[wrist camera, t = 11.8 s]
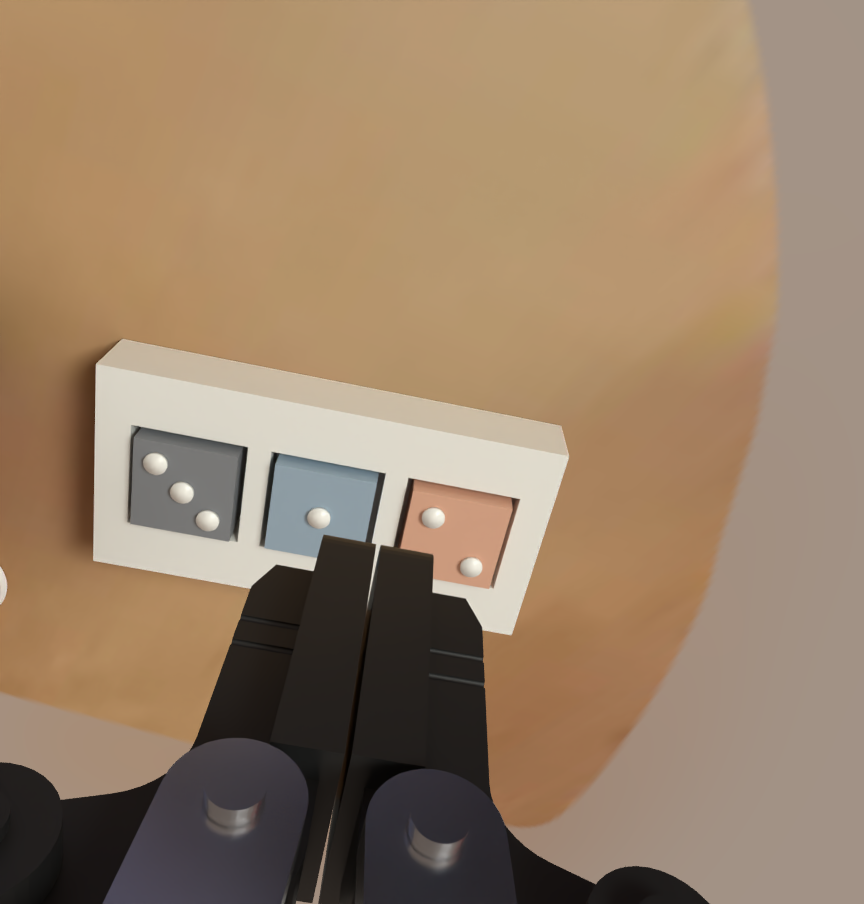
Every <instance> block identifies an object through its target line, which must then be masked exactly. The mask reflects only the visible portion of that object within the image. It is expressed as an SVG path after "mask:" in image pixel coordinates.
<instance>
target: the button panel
mask: <svg viewBox="0 0 864 904" xmlns="http://www.w3.org/2000/svg"><path fill="white" fill-rule="evenodd" d="M141 427H145V428H150V429H156V430H161V431H166V432H171V433H177V434H182V435H187V436H192V437H198V438H203V439H208V440H213V441H218V442H224V443H229V444H234V445H239V446H245V447H248V454H247V463H246V471H245V480H244V489H243V498H242V507H241V515H240V517H239V520H238V522H237V524H236V527H235V529H234V531H233V533H232V536H231V538H230V540H229V542H227V541H222V540H216V539H211V538H205V537H200V536H194V535H189V534H183V533H178V532H172V531H167V530H161V529H156V528H150V527H145V526H139V525H134V524H130V519H131V493H132V467H133V441H134V436H135V435H136V434H137V433H138V431H139V430H140V429H141ZM280 453H281V454H287V455H292V456H297V457H302V458H308V459H313V460H318V461H323V462H329V463H334V464H339V465H344V466H350V467H355V468H360V469H365V470H371V471H376V472H379V475H378V481H377V486H376V491H375V496H374V501H373V506H372V511H371V516H370V521H369V526H368V531H367V536H366V541H365V542H368V543H373V544H376V550H375V557H374V563H373V570H372V577H371V583H370V590H369V596H370V591H371V586H372V581H373V577H374V572H375V567H376V562H377V558H378V553H379V549H380V546H381V545H385V546H391V547H396V548H398V541H399V537H400V532H401V528H402V523H403V519H404V514H405V510H406V505H407V501H408V496H409V492H410V487H411V483H412V478H413V479H418V480H423V481H428V482H434V483H439V484H444V485H449V486H455V487H460V488H465V489H470V490H476V491H481V492H486V493H491V494H497V495H502V496H507V497H511V499H512V508H513V510H512V514H511V517H510V520H509V524H508V527H507V530H506V534H505V537H504V541H503V544H502V547H501V551H500V554H499V558H498V561H497V564H496V568H495V571H494V574H493V578H492V581H491V585H490V588H489V589H486V588H480V587H475V586H469V585H464V584H458V583H453V582H447V581H442V580H436V579H433V591H432V592H433V593H438V594H444V595H449V596H455V597H461V598H466V600H467V602H468V603H469V605H470V607H471V609H472V610H473V612H474V614H475V615H476V617H477V619H478V621H479V622H480V624H481V626H482V630H485V631H491V632H496V633H502V634H508V635H512V632H513V629H514V626H515V623H516V620H517V617H518V614H519V611H520V607H521V604H522V601H523V598H524V595H525V592H526V589H527V586H528V583H529V580H530V576H531V573H532V570H533V567H534V564H535V561H536V558H537V555H538V552H539V549H540V545H541V542H542V539H543V536H544V533H545V530H546V527H547V524H548V521H549V518H550V514H551V511H552V508H553V505H554V502H555V499H556V496H557V493H558V490H559V487H560V483H561V480H562V477H563V474H564V471H565V468H566V465H567V462H568V459H569V454H568V450H567V446H566V442H565V438H564V435H563V431H562V427H561V426H560V425H555V424H550V423H545V422H540V421H535V420H530V419H525V418H520V417H515V416H510V415H505V414H500V413H495V412H489V411H484V410H479V409H474V408H469V407H464V406H459V405H454V404H449V403H444V402H439V401H434V400H429V399H424V398H419V397H414V396H409V395H404V394H399V393H394V392H388V391H383V390H378V389H373V388H368V387H363V386H358V385H353V384H348V383H343V382H338V381H333V380H328V379H323V378H318V377H313V376H308V375H303V374H298V373H293V372H287V371H282V370H277V369H272V368H267V367H262V366H257V365H252V364H247V363H242V362H237V361H232V360H227V359H222V358H217V357H212V356H207V355H202V354H197V353H192V352H186V351H181V350H176V349H171V348H166V347H161V346H156V345H151V344H146V343H141V342H136V341H131V340H126V339H122V340H120V341H119V342H118V343H117V344H116V345H115V346H114V347H113V348H112V349H111V350H110V351H109V352H108V353H107V354H106V355H105V356H104V357H103V358H102V359H100V360H99V361H98V362H97V363H96V392H95V466H94V540H93V561H98V562H103V563H109V564H115V565H120V566H126V567H132V568H137V569H143V570H148V571H154V572H160V573H165V574H171V575H176V576H182V577H188V578H193V579H199V580H205V581H210V582H216V583H221V584H227V585H233V586H238V587H244V588H249V589H251V586H252V585H253V584H254V583H256V582H257V581H258V580H259V579H260V578H261V577H262V576H264V575H265V574H266V573H267V572H268V571H269V570H270V569H272V568H273V567H274V566H275V565H276V564H277V565H282V566H288V567H293V568H299V569H304V570H310V571H314V568H315V564H316V560H317V558H315V557H310V556H304V555H299V554H293V553H288V552H282V551H277V550H271V549H266V548H264V547H265V539H266V531H267V524H268V516H269V509H270V501H271V493H272V486H273V478H274V471H275V464H276V462H277V459H278V457H279V454H280ZM369 596H368V600H369ZM367 605H368V603H367Z"/></svg>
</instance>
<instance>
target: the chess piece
mask: <svg viewBox="0 0 864 904" xmlns="http://www.w3.org/2000/svg"><path fill="white" fill-rule="evenodd" d="M6 593H7V580H6V577H5V574H4V572H3V570H2V568H1V567H0V604H1V603H2V602H3V600H4V599H5V596H6Z"/></svg>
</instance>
